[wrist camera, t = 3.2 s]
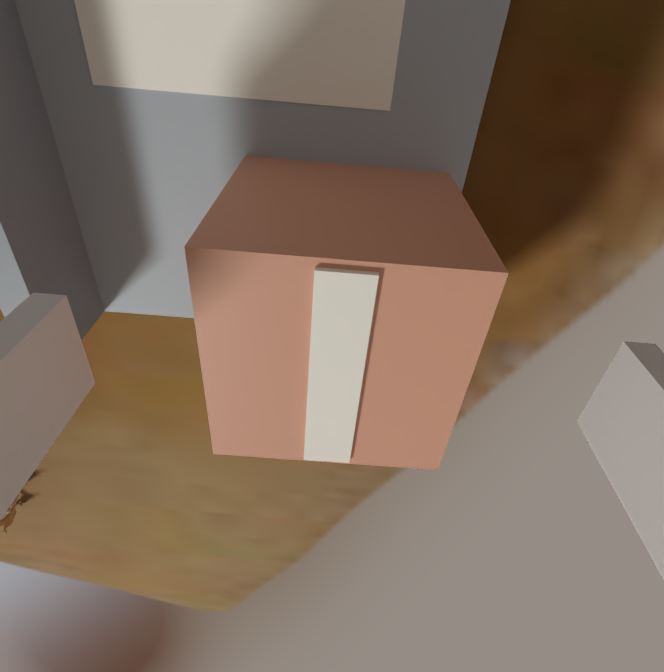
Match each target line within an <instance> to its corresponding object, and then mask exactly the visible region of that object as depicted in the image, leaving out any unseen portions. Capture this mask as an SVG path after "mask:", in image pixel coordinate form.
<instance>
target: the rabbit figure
mask: <svg viewBox="0 0 664 672" xmlns="http://www.w3.org/2000/svg"><path fill="white" fill-rule="evenodd" d="M20 492H21V491H20ZM20 492H19V493H20ZM18 496H19V494H18V495H17V497H16V498H15V500H14V501H13V503H12V504H11V505H10V506H12V505H13V504H15V502H16V500H17V498H18ZM17 505H19V503H16V504H15V505H13V507H12V508H11V509H10V507H9V508H8V510H7V512H8V513H9V514H8V515H6V517H5V518H4V519H2V520H0V527H1V526H4V527H3V528H4V530H3V533H4V534H6V535H7V531H6V528H7V527H8V526H10V525H11V524H12V522H13V519H14V517H15V514H16V512H17V511H16V510H15V507H16V506H17Z"/></svg>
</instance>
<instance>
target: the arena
mask: <svg viewBox="0 0 664 672" xmlns="http://www.w3.org/2000/svg"><path fill="white" fill-rule="evenodd" d="M510 2H511V0H0V309H1V311H2V313H3V315H4V317H6V316H7V315H8V314H10V313H11V312H12V311H13V310H14V309H15V308H16V307H18V306H19V305H20V304H21V303H22V302H23V301H24V300H26V299H27V298H28V297H29V296H30V295H31V294H32V293H44V294H56V295H67V298H68V302H69V305H70V308H71V311H72V314H73V317H74V320H75V323H76V326H77V329H78V332H79V335H80V338H81V340H82V339H83V337H84V336H85V335H86V333H87V332H88V331H89V330H90V328H91V327H92V326H93V325H94V323H95V322H96V321H97V320H98V318H99V317H100V316H101V314H102V313H103V312H104V311H110V312H122V313H135V314H148V315H161V316H174V317H187V318H194V313H193V305H192V298H191V291H190V284H189V277H188V270H187V263H186V256H185V248H184V246H185V245H186V243H187V242H188V240H189V239H190V237H191V236H192V234H193V233H194V232H195V230H196V229H197V227H198V226H199V224H200V223H201V221H202V220H203V218H204V217H205V215H206V214H207V212H208V211H209V209H210V208H211V206H212V205H213V203H214V202H215V200H216V199H217V197H218V196H219V194H220V193H221V191H222V190H223V188H224V187H225V185H226V184H227V182H228V181H229V179H230V178H231V176H232V175H233V173H234V172H235V170H236V169H237V167H238V166H239V164H240V163H241V161H242V160H243V158H244V157H245V155H247V156H259V157H271V158H282V159H294V160H306V161H317V162H329V163H341V164H352V165H364V166H376V167H388V168H399V169H411V170H423V171H434V172H446V173H450V174H451V176H452V177H453V179H454V181H455V183H456V184H457V186H458V188H459V189H460V191H461V193H462V190H463V186H464V183H465V179H466V175H467V171H468V167H469V163H470V159H471V155H472V151H473V147H474V143H475V139H476V135H477V131H478V128H479V124H480V120H481V116H482V112H483V108H484V104H485V100H486V96H487V92H488V88H489V84H490V80H491V77H492V73H493V69H494V65H495V61H496V57H497V53H498V49H499V45H500V41H501V37H502V33H503V29H504V25H505V22H506V18H507V14H508V10H509V6H510Z"/></svg>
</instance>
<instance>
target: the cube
mask: <svg viewBox="0 0 664 672" xmlns="http://www.w3.org/2000/svg"><path fill="white" fill-rule="evenodd" d="M184 248H185V256H186V263H187V270H188V277H189V284H190V291H191V298H192V305H193V313H194V320H195V327H196V334H197V341H198V348H199V355H200V362H201V369H202V377H203V384H204V391H205V398H206V405H207V412H208V419H209V426H210V433H211V441H212V448H213V454H221V455H235V456H249V457H263V458H277V459H291V460H305V461H319V462H333V463H347V464H361V465H375V466H389V467H403V468H417V469H433V470H438V468H439V465H440V463H441V460H442V457H443V454H444V452H445V449H446V446H447V443H448V440H449V438H450V435H451V432H452V429H453V427H454V424H455V421H456V418H457V415H458V413H459V410H460V407H461V404H462V402H463V399H464V396H465V393H466V390H467V388H468V385H469V382H470V379H471V377H472V374H473V371H474V368H475V365H476V363H477V360H478V357H479V354H480V352H481V349H482V346H483V343H484V340H485V338H486V335H487V332H488V329H489V326H490V324H491V321H492V318H493V315H494V313H495V310H496V307H497V304H498V301H499V299H500V296H501V293H502V290H503V288H504V285H505V282H506V279H507V276H508V274H509V273H508V271H507V269H506V268H505V266H504V264H503V262H502V261H501V259H500V257H499V256H498V254H497V252H496V251H495V249H494V247H493V245H492V244H491V242H490V240H489V239H488V237H487V235H486V234H485V232H484V230H483V228H482V227H481V225H480V223H479V222H478V220H477V218H476V217H475V215H474V213H473V211H472V210H471V208H470V206H469V205H468V203H467V201H466V200H465V198H464V196H463V194H462V193H461V191H460V189H459V188H458V186H457V184H456V183H455V181H454V179H453V177H452V176H451V174H450V173H446V172H434V171H423V170H411V169H399V168H388V167H376V166H364V165H352V164H341V163H329V162H317V161H306V160H294V159H282V158H271V157H259V156H247V155H245V157H244V158H243V160H242V161H241V163H240V164H239V166H238V167H237V169H236V170H235V172H234V173H233V175H232V176H231V178H230V179H229V181H228V182H227V184H226V185H225V187H224V188H223V190H222V191H221V193H220V194H219V196H218V197H217V199H216V200H215V202H214V203H213V205H212V206H211V208H210V209H209V211H208V212H207V214H206V215H205V217H204V218H203V220H202V221H201V223H200V224H199V226H198V227H197V229H196V230H195V232H194V233H193V234H192V236H191V237H190V239H189V240H188V242H187V243H186V245H185V246H184Z"/></svg>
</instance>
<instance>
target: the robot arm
mask: <svg viewBox="0 0 664 672" xmlns="http://www.w3.org/2000/svg"><path fill="white" fill-rule="evenodd" d="M94 384H95V380H94V377H93V374H92V371H91V368H90V365H89V362H88V359H87V356H86V353H85V350H84V347H83V344H82V341H81V338H80V335H79V332H78V329H77V326H76V323H75V320H74V317H73V314H72V311H71V308H70V305H69V302H68V298H67V295H56V294H44V293H32V294H31V295H30V296H29V297H28V298H27V299H26V300H24V301H23V302H22V303H21V304H20V305H19V306H18V307H16V308H15V309H14V310H13V311H12V312H11V313H10V314H8V315H7V316H6V317H5V318H4V319H3V320H2V321H1V322H0V520H1V518H2V517H3V516H4V514H5V513H6V511H7V510H8V508H9V507H10V505H11V504H12V503H13V501H14V500H15V498H16V497H17V495H18V494H19V492H20V491H21V490H22V488H23V487H24V485H25V484H26V482H27V481H28V479H29V478H30V477H31V475H32V474H33V472H34V471H35V469H36V468H37V467H38V465H39V464H40V462H41V461H42V459H43V458H44V456H45V455H46V454H47V452H48V451H49V449H50V448H51V446H52V445H53V443H54V442H55V441H56V439H57V438H58V436H59V435H60V433H61V432H62V430H63V429H64V428H65V426H66V425H67V423H68V422H69V420H70V419H71V417H72V416H73V415H74V413H75V412H76V410H77V409H78V407H79V406H80V404H81V403H82V402H83V400H84V399H85V397H86V396H87V394H88V393H89V391H90V390H91V389H92V387H93V386H94ZM577 423H578V425H579V427H580V428H581V430H582V432H583V434H584V436H585V438H586V439H587V441H588V443H589V445H590V446H591V448H592V450H593V452H594V454H595V456H596V457H597V459H598V461H599V463H600V465H601V467H602V468H603V470H604V472H605V474H606V476H607V477H608V479H609V481H610V483H611V485H612V487H613V489H614V490H615V492H616V494H617V496H618V498H619V499H620V501H621V503H622V505H623V507H624V508H625V510H626V512H627V514H628V516H629V518H630V519H631V521H632V523H633V525H634V527H635V529H636V531H637V532H638V534H639V536H640V538H641V540H642V541H643V543H644V545H645V547H646V549H647V551H648V552H649V554H650V556H651V558H652V559H653V561H654V563H655V565H656V567H657V569H658V571H659V572H660V574H661V576H662V578H663V580H664V353H663V352H662V351H661V350H660V348H659V347H658V346H657V345H656V344H648V343H636V342H623V344H622V345H621V347H620V348H619V350H618V352H617V354H616V356H615V357H614V359H613V360H612V362H611V364H610V366H609V367H608V369H607V371H606V373H605V374H604V376H603V378H602V379H601V381H600V383H599V384H598V386H597V388H596V389H595V391H594V393H593V395H592V396H591V398H590V400H589V401H588V403H587V405H586V406H585V408H584V410H583V412H582V413H581V415H580V417H579V418H578V420H577Z"/></svg>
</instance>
